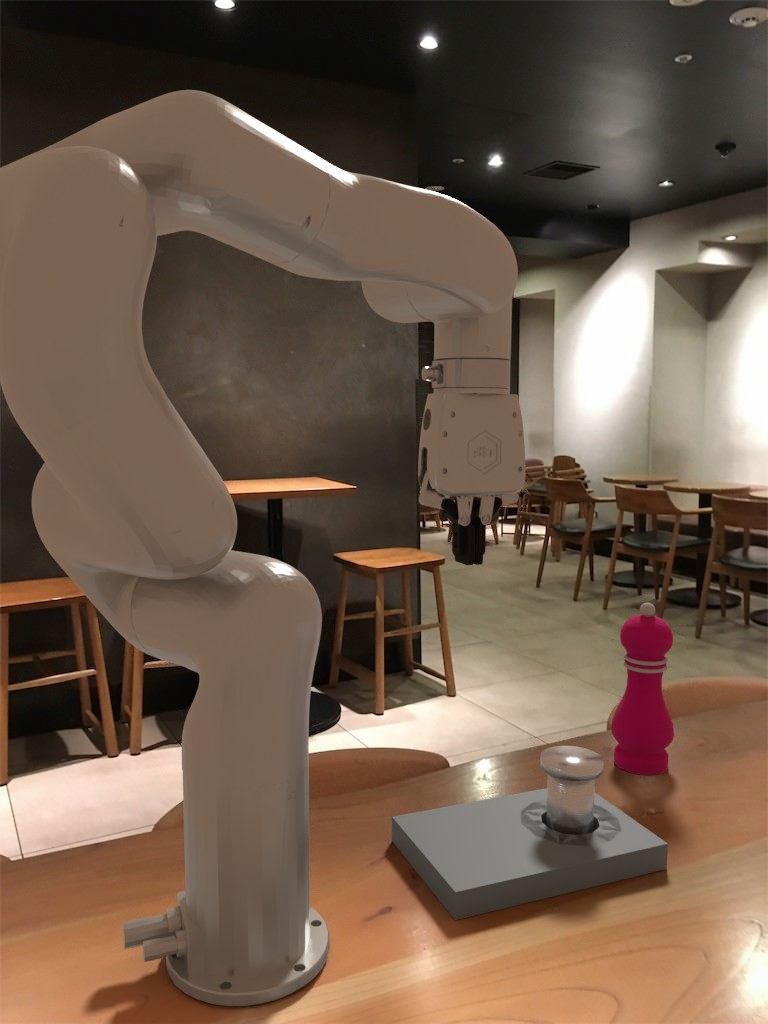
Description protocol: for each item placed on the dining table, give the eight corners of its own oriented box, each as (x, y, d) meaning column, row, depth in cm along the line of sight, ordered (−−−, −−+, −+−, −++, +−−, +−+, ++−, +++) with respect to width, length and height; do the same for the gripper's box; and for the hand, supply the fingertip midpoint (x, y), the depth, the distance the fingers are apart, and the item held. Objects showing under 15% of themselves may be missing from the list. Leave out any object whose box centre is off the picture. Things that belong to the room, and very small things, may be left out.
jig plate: (455, 920, 70) (455, 892, 70) (391, 840, 83) (392, 816, 83) (666, 868, 78) (667, 843, 78) (579, 803, 91) (579, 781, 91)
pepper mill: (676, 780, 97) (684, 611, 95) (611, 774, 99) (618, 608, 96) (668, 755, 104) (675, 597, 102) (608, 750, 106) (614, 594, 103)
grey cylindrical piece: (560, 866, 78) (563, 775, 77) (526, 836, 84) (528, 750, 83) (613, 854, 81) (616, 765, 80) (576, 826, 86) (579, 742, 85)
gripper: (418, 376, 77) (416, 574, 79) (557, 380, 82) (552, 564, 84) (387, 379, 83) (386, 561, 86) (518, 382, 89) (513, 552, 91)
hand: (468, 562), depth 85 cm, fingers closed
